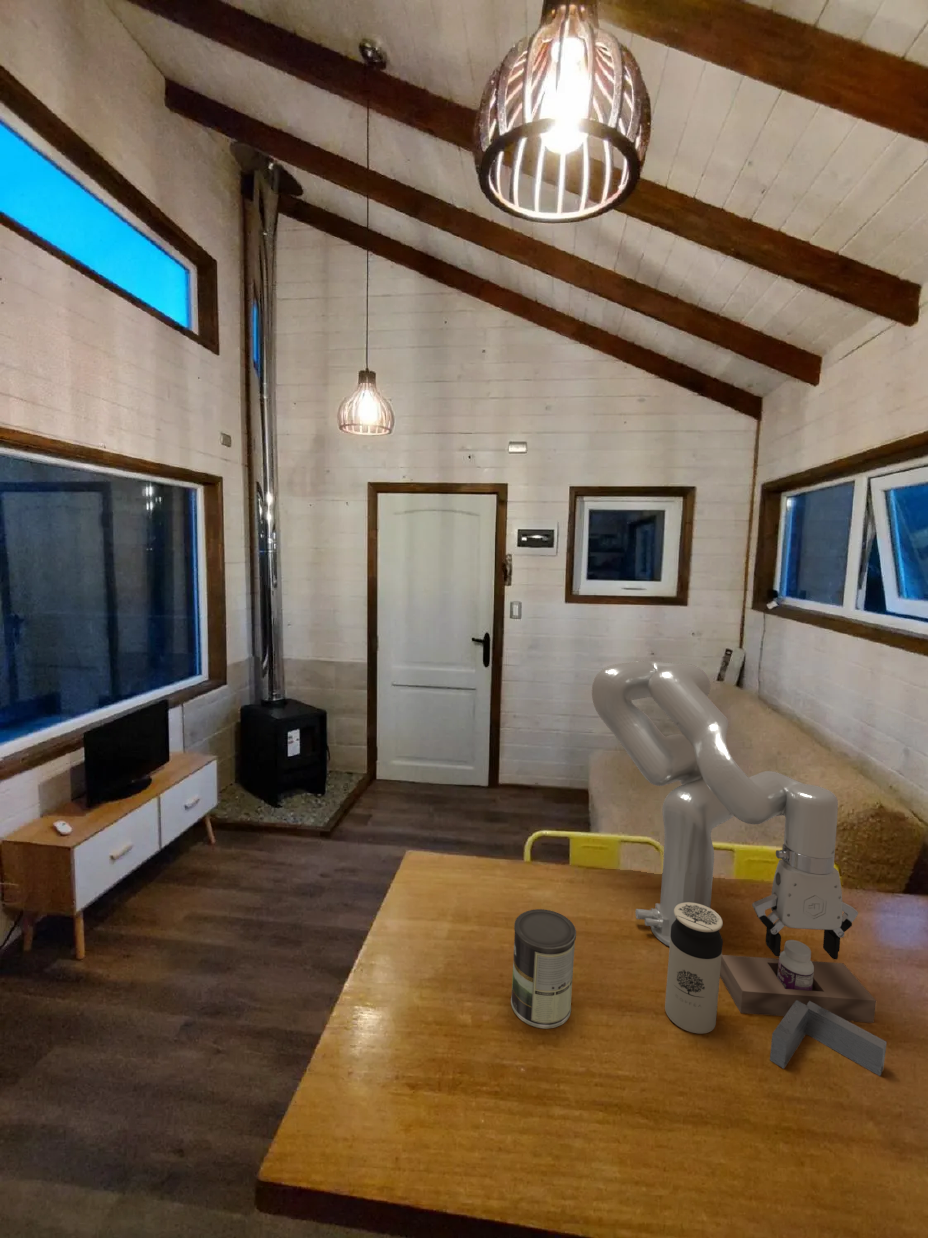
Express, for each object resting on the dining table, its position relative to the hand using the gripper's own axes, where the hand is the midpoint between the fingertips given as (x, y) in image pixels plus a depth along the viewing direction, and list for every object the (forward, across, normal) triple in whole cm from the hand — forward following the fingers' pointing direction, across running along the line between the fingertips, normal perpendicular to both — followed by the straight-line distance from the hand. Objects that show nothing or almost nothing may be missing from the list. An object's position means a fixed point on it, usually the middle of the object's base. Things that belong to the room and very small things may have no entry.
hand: (801, 953), depth 99 cm
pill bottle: (+9, -1, +1) cm, 9 cm away
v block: (+9, -3, -10) cm, 14 cm away
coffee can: (+8, -46, -5) cm, 47 cm away
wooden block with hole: (+9, -1, +1) cm, 9 cm away
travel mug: (+9, -21, -5) cm, 23 cm away
